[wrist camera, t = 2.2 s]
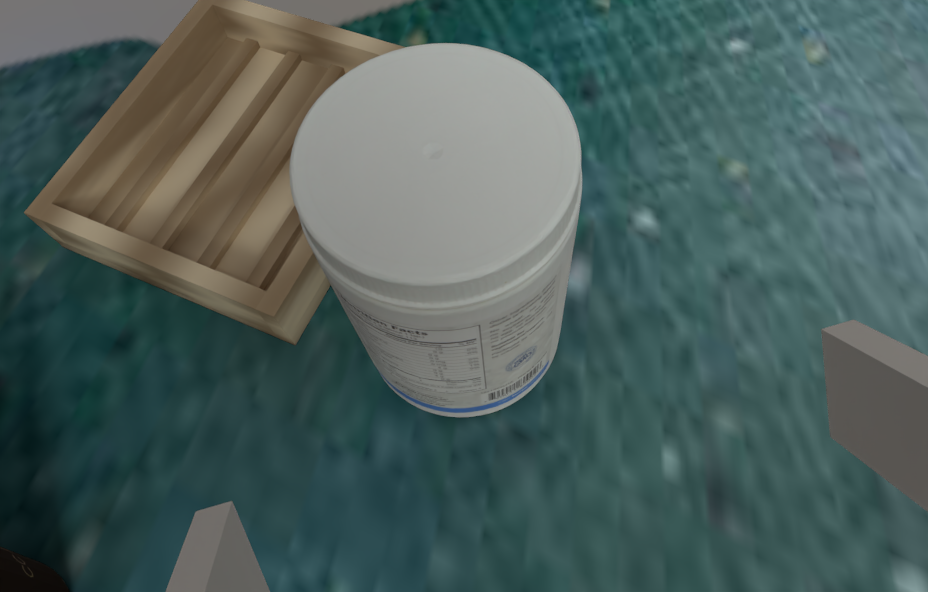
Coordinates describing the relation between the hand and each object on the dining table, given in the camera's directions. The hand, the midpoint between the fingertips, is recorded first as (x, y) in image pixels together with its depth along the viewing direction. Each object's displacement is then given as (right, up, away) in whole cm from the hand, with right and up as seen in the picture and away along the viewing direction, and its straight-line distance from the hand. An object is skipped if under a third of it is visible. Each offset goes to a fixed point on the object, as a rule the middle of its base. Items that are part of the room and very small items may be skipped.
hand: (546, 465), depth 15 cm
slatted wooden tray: (-14, +11, +25) cm, 31 cm away
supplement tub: (-2, +2, +20) cm, 20 cm away
